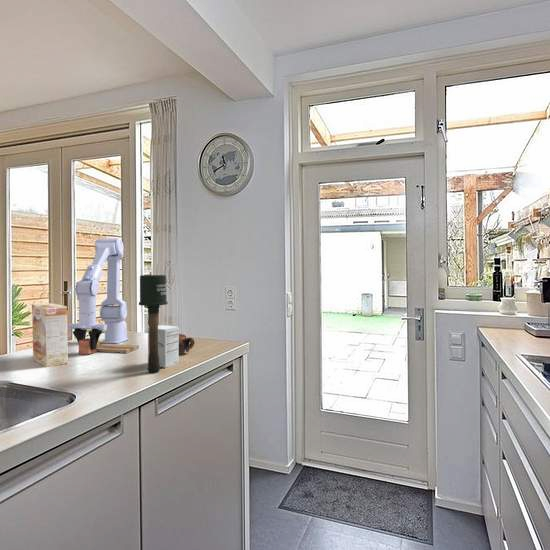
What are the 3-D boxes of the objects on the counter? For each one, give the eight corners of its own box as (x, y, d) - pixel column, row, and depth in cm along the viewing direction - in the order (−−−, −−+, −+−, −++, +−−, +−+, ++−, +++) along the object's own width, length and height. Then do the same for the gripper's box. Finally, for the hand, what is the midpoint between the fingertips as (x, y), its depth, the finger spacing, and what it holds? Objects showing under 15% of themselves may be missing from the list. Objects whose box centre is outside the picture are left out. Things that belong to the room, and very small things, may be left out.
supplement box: (147, 366, 135) (146, 327, 135) (162, 361, 142) (161, 324, 142) (165, 368, 132) (164, 329, 132) (179, 363, 139) (179, 325, 139)
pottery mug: (160, 357, 150) (159, 336, 154) (172, 363, 158) (171, 342, 162) (190, 350, 148) (189, 328, 152) (201, 356, 156) (200, 335, 160)
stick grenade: (160, 376, 123) (159, 275, 122) (133, 374, 125) (132, 275, 124) (172, 369, 131) (172, 274, 130) (148, 367, 133) (147, 274, 132)
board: (97, 346, 166) (97, 343, 166) (138, 348, 163) (138, 345, 163) (83, 351, 157) (83, 348, 157) (126, 353, 154) (126, 349, 154)
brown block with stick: (96, 347, 162) (96, 335, 162) (106, 348, 162) (105, 335, 161) (78, 354, 151) (78, 340, 151) (88, 354, 151) (88, 340, 151)
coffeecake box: (32, 359, 144) (31, 304, 143) (54, 356, 149) (53, 302, 148) (45, 367, 133) (44, 307, 133) (68, 363, 138) (67, 305, 138)
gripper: (62, 313, 150) (63, 350, 151) (98, 314, 148) (99, 352, 148) (75, 311, 157) (75, 346, 158) (109, 312, 155) (110, 348, 155)
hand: (87, 349), depth 153 cm, fingers closed on brown block with stick, 4 cm apart
